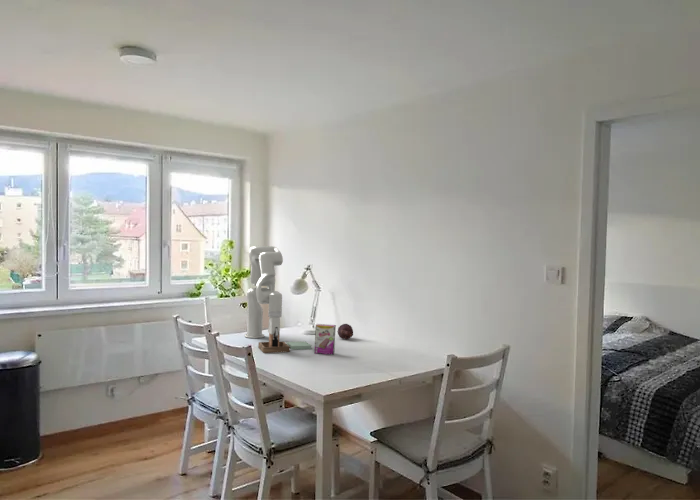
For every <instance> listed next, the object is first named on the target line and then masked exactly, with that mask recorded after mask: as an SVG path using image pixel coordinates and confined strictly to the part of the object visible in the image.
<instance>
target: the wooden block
mask: <svg viewBox="0 0 700 500" xmlns="http://www.w3.org/2000/svg"><path fill="white" fill-rule="evenodd" d="M274 334H275V333H274ZM280 337H281V334H280V333H279V335H278V347H279V342H280ZM272 340H273V334H272V335H271V334H270V333H269V332H268V342H269V347H272Z"/></svg>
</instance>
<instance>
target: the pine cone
mask: <svg viewBox="0 0 700 500" xmlns="http://www.w3.org/2000/svg"><path fill="white" fill-rule="evenodd" d="M336 332H337V335H338V338H340V339H342V340H345V339H346V340H349V339H351V338H352V337H353V336H354V329H353V327H352V325H350V324H348V323H343V324H341V325H339V327H338V328H337V331H336Z"/></svg>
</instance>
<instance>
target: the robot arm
mask: <svg viewBox="0 0 700 500" xmlns="http://www.w3.org/2000/svg"><path fill="white" fill-rule="evenodd" d="M248 257H249V261H250V277H249V278H250V279H249V281H250V282H249V283H250V284H251V286H254V287H252V288H248V290H247V292H246V300H247V321H246V322H247V327H246V328H247V329H246V330H247V331H246V333H245V334H244V337H245V338H248V339H262V338H264V337H265V334H264V333H263V317H264V316H263V313H264V311H263V307H262V306H261V305H268V312H267V313H268V329H267V332H268V334H269V333H270V334H271V335H272V334H273V340H272V347H278V335H279V333H280V331H281V329H280V327H281V318H282V308H283V307H282V305H283V294H282V293H280V291H277V290H275V289H276V269H275V266H279V267H280V266H282V264H283V262H284V258H283V253H282V252H281V251H280V250H279V248H277V246H274V245H273V246H272V245H271V246H270V245H268V246H267V245H254V246H250V248H249V251H248ZM274 333H275V334H274Z"/></svg>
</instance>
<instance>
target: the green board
mask: <svg viewBox="0 0 700 500" xmlns="http://www.w3.org/2000/svg"><path fill="white" fill-rule="evenodd" d="M286 344H287V345H288V346H290V351H293V350H294V351H295V350H311V349H312V346H313V345H312V344H310V343H309V342H307V341H305V340H304V341H286Z"/></svg>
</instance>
